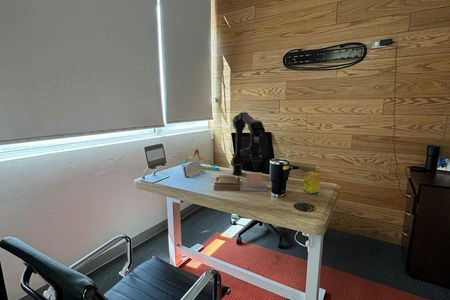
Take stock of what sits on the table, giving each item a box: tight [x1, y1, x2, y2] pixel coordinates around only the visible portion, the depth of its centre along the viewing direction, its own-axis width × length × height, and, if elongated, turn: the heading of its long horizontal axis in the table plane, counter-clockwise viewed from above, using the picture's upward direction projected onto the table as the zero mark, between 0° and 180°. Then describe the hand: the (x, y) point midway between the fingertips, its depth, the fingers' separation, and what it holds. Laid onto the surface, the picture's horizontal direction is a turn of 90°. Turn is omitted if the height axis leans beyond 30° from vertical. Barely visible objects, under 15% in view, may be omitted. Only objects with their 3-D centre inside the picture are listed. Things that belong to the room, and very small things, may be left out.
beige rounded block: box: [182, 160, 205, 179], centre depth 170 cm, size 17×5×10 cm, turn 148°
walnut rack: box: [213, 176, 241, 191], centre depth 147 cm, size 17×15×2 cm
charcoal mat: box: [241, 181, 269, 192], centre depth 144 cm, size 14×14×1 cm
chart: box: [181, 148, 220, 172], centre depth 183 cm, size 30×3×15 cm, turn 68°
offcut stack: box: [217, 174, 239, 183], centre depth 151 cm, size 5×12×4 cm, turn 87°
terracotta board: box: [246, 172, 263, 187], centre depth 143 cm, size 2×9×8 cm, turn 87°
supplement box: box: [303, 171, 321, 195], centre depth 135 cm, size 6×6×11 cm
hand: (254, 169), depth 142 cm, fingers open, 9 cm apart
